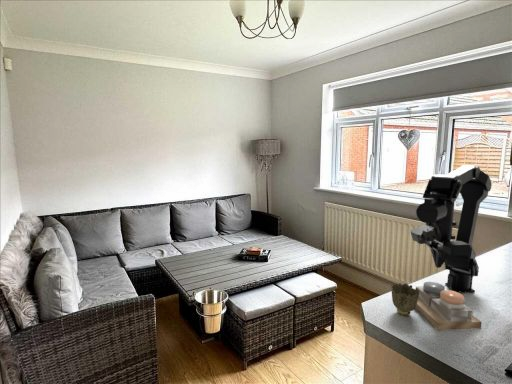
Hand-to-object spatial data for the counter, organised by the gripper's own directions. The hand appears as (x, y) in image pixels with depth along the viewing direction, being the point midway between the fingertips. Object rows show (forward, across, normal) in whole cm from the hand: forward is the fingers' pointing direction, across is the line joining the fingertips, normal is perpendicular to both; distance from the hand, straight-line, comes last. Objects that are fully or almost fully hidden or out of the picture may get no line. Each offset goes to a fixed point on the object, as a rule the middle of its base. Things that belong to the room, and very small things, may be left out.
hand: (438, 267), depth 93 cm
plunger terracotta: (+9, +8, -1) cm, 12 cm away
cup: (+13, +4, -12) cm, 18 cm away
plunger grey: (+10, 0, -1) cm, 10 cm away
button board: (+12, +4, -1) cm, 13 cm away
